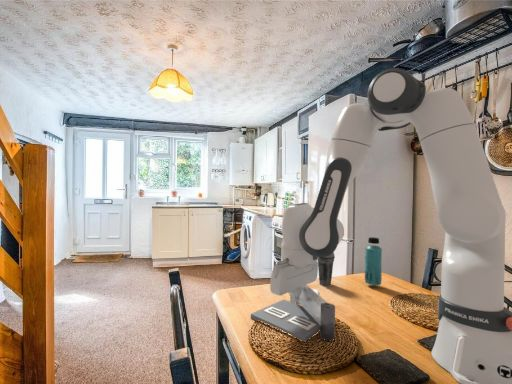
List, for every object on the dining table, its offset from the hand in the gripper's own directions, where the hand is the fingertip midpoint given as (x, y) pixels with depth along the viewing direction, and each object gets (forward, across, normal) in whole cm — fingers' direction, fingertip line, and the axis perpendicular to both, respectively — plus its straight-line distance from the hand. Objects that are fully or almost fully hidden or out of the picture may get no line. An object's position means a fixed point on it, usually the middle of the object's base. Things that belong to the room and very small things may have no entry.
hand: (294, 301), depth 83 cm
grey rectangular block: (+4, +1, -5) cm, 7 cm away
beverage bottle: (+5, +46, -7) cm, 47 cm away
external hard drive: (+5, +16, +6) cm, 18 cm away
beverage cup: (+5, +34, +8) cm, 35 cm away
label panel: (+5, -2, -1) cm, 5 cm away
